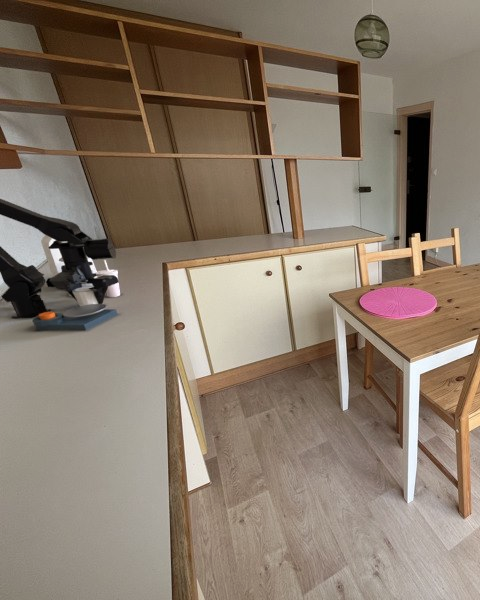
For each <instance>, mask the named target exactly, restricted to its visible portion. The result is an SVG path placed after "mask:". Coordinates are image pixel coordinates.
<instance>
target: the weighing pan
mask: <svg viewBox="0 0 480 600" xmlns="http://www.w3.org/2000/svg"><path fill="white" fill-rule="evenodd" d="M104 309H107V304H104V303H103V304H89V305H83V306H79V305H78V306H75V307H72V308H69V309H67V310H64V311H63V312H62V313H63V316H65V317H80V316H86V315H91V314H95V313H98V312H100V311H103V310H104Z"/></svg>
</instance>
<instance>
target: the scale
mask: <svg viewBox="0 0 480 600" xmlns="http://www.w3.org/2000/svg"><path fill="white" fill-rule="evenodd" d="M54 313H55V316H56V317H54V318H51V319H46V320H40V318H39V316H36V317H33V318H32V324H33V325H34V328H35V330H36V331H88V330H91V329H92V328H94V327H96V326H98V325H99V324H102V323H104V322H106V321H108V320H110V319H111V318H113V317H116V316H118V311H117V309H116V308H115V309H107V308H106V309H104V310H103V311H100V312H98V313H95V314H91V315H86V316H80V317H65V316H63V312H54Z"/></svg>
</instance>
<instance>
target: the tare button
mask: <svg viewBox="0 0 480 600" xmlns="http://www.w3.org/2000/svg"><path fill="white" fill-rule="evenodd" d="M55 313H56V312H54V311H49V312H45V313H41V314H39V315H38V316H37V317H39V318H40V320H46V319H51V318H54V317H56V316H55Z"/></svg>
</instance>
